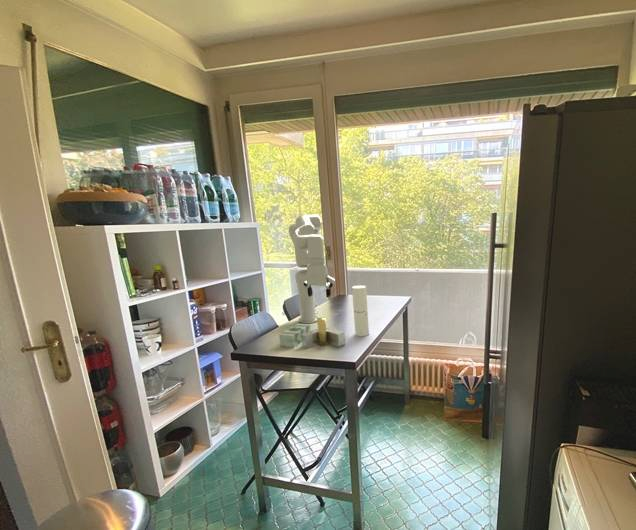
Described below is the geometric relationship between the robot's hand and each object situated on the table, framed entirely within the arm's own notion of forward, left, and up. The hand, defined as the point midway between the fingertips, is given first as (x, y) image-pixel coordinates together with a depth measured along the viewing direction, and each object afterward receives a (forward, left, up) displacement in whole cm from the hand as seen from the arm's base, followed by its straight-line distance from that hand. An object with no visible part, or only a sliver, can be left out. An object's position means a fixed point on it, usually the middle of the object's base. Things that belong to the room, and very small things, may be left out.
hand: (319, 296), depth 160 cm
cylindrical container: (-18, +14, -24) cm, 33 cm away
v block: (-1, 0, -24) cm, 24 cm away
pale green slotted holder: (-1, -16, -24) cm, 29 cm away
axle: (0, 0, -24) cm, 24 cm away
